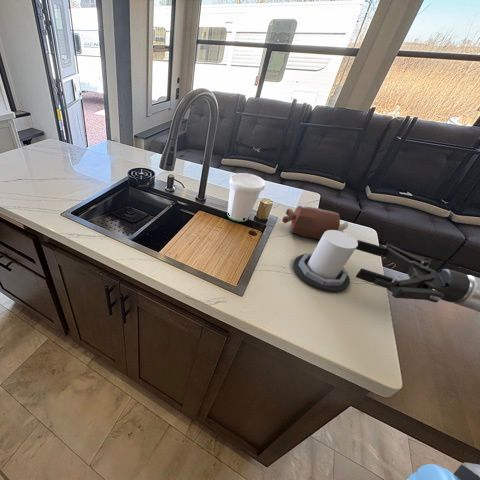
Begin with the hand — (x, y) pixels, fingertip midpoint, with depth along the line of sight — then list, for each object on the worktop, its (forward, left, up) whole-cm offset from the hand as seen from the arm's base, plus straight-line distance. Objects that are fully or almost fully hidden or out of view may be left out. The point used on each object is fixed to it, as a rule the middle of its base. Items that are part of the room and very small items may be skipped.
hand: (356, 257), depth 69 cm
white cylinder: (+3, +5, -8) cm, 10 cm away
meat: (+23, -1, -9) cm, 25 cm away
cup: (+34, +22, -9) cm, 41 cm away
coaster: (+3, +5, -9) cm, 11 cm away
